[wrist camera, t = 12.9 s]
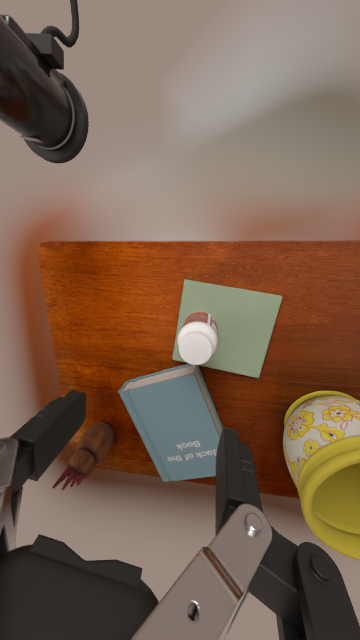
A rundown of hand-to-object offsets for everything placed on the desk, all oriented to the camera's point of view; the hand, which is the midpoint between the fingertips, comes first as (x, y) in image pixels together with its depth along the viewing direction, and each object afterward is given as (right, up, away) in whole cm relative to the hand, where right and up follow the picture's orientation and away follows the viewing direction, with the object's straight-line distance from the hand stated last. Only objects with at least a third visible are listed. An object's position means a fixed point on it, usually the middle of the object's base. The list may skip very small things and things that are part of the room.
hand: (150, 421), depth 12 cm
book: (+2, -15, +34) cm, 38 cm away
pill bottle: (+6, +5, +28) cm, 29 cm away
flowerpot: (+29, -13, +29) cm, 44 cm away
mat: (+10, +4, +28) cm, 30 cm away
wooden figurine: (-16, -20, +39) cm, 47 cm away
